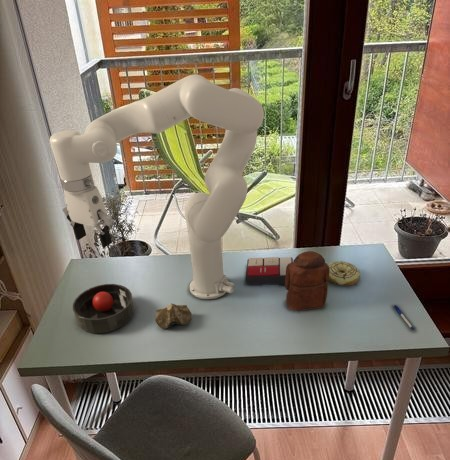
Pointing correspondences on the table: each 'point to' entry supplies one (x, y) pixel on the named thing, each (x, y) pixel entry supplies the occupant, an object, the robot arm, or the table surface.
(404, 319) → the ballpoint pen
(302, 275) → the wooden figurine
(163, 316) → the fossilized seashell
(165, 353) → the table surface
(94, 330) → the bowl
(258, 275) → the miniature drawer cabinet
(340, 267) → the decorated donut
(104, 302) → the red ball
